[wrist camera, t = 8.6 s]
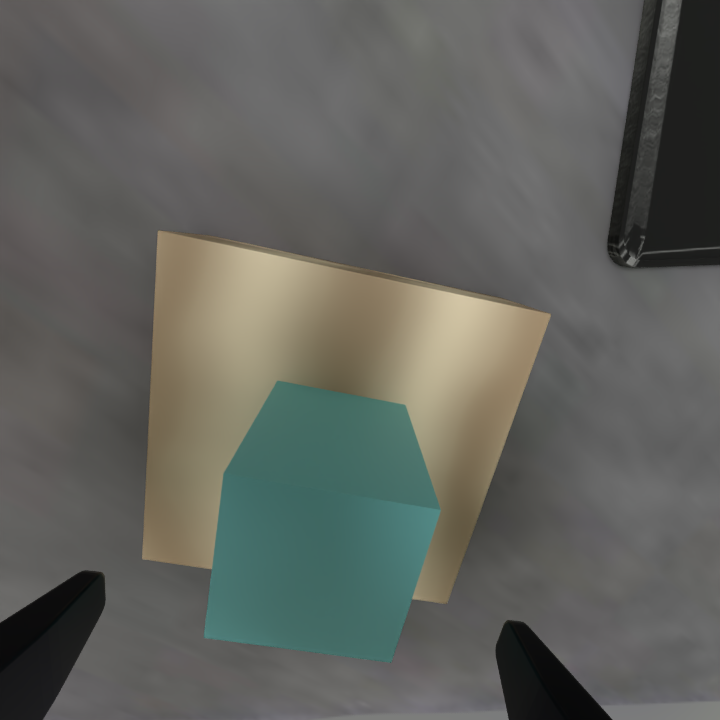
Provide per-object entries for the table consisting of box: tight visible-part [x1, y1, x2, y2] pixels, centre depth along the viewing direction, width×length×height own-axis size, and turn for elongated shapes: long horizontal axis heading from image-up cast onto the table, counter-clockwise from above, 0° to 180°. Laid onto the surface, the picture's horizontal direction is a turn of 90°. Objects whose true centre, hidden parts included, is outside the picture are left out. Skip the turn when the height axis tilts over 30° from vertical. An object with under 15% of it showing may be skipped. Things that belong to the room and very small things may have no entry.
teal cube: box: [204, 381, 441, 663], centre depth 12 cm, size 5×5×6 cm
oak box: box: [142, 230, 551, 604], centre depth 17 cm, size 14×14×5 cm
